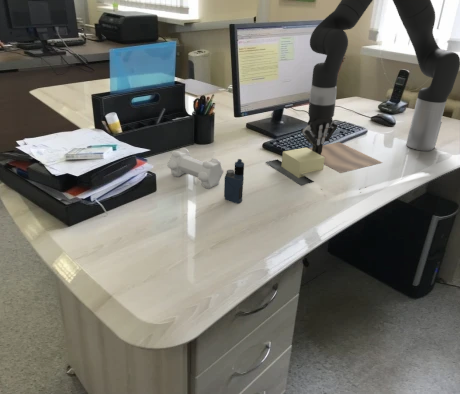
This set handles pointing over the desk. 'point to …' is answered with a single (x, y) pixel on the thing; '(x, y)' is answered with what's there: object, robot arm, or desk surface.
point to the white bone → (196, 168)
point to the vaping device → (234, 183)
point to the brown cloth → (345, 158)
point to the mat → (288, 173)
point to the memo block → (302, 161)
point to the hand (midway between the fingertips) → (316, 154)
